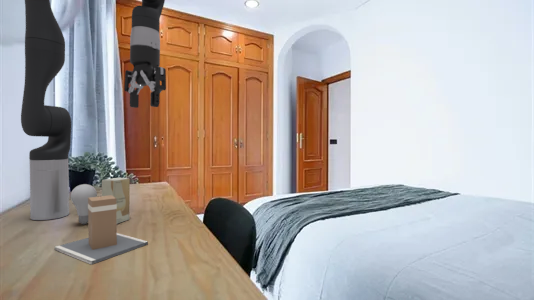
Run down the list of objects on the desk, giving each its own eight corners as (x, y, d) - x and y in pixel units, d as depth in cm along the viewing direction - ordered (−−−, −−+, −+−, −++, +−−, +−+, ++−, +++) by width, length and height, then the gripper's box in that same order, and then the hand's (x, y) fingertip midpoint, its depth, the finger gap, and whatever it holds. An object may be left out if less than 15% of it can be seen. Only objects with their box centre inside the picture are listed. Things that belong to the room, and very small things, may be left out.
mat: (54, 249, 59) (54, 246, 59) (110, 233, 70) (110, 231, 69) (91, 264, 52) (91, 261, 52) (147, 244, 62) (147, 241, 62)
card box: (88, 243, 61) (87, 197, 61) (112, 238, 64) (111, 195, 64) (92, 249, 58) (91, 201, 57) (117, 244, 61) (116, 198, 60)
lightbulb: (65, 225, 76) (64, 185, 75) (87, 220, 81) (87, 182, 81) (80, 228, 73) (80, 186, 73) (102, 222, 79) (102, 183, 79)
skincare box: (114, 225, 76) (114, 180, 76) (101, 224, 77) (100, 179, 77) (130, 219, 83) (130, 177, 82) (117, 218, 84) (117, 177, 83)
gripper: (116, 47, 78) (115, 106, 78) (151, 39, 71) (149, 104, 71) (140, 54, 84) (139, 109, 85) (174, 48, 77) (172, 108, 78)
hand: (144, 107), depth 78 cm, fingers open, 8 cm apart
